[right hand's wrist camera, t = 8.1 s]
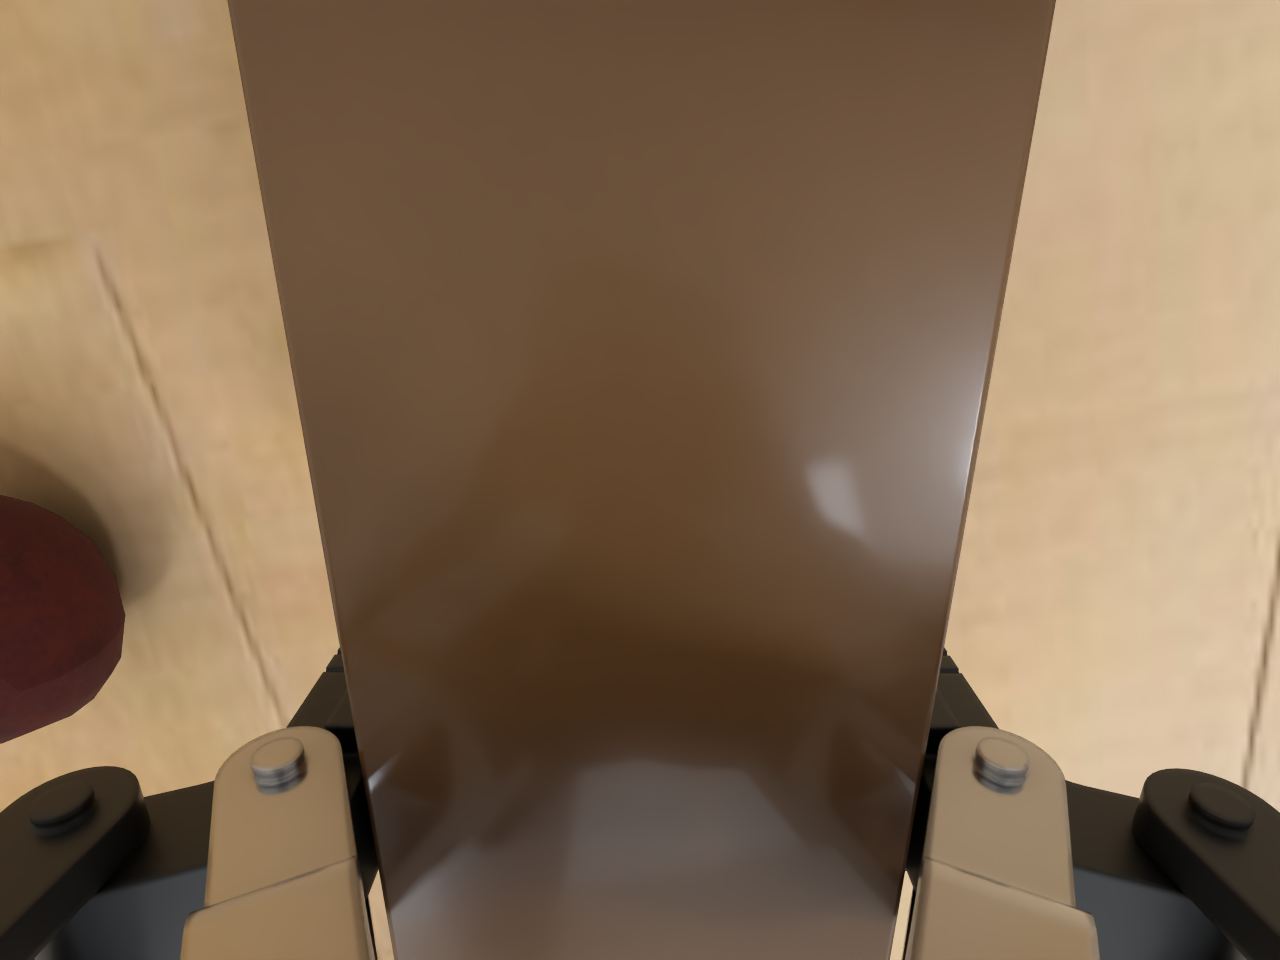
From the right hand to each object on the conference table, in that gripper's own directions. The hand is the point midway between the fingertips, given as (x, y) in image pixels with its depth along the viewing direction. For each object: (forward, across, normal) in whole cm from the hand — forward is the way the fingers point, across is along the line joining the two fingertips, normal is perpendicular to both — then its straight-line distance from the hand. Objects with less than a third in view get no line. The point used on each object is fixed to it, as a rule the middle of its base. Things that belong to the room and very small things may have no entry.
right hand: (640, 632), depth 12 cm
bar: (+4, 0, -10) cm, 11 cm away
